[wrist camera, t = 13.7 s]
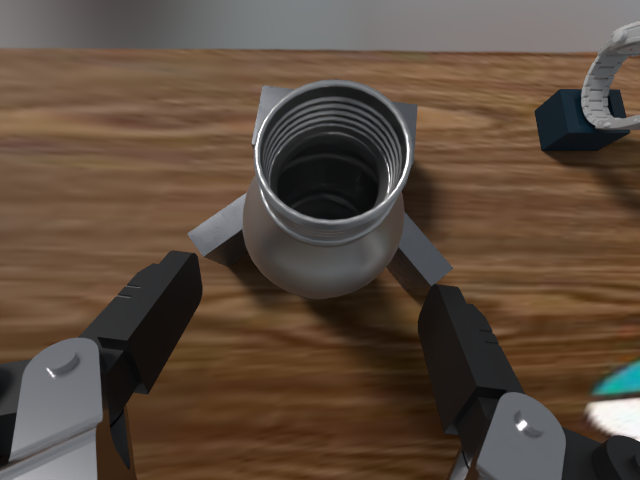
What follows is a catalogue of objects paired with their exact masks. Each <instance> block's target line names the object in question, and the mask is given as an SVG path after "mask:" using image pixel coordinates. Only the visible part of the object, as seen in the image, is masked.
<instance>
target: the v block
mask: <svg viewBox="0 0 640 480" xmlns="http://www.w3.org/2000/svg"><path fill="white" fill-rule="evenodd" d="M293 90H295V89H287V88H279V87H271V86H263V87H262V92H261V98H260V103H259V108H258V113H257V119H256V124H255V129H254V134H253V139H252V146H253V149H254V145H255V140H256V135H257V132H258V130H259V127H260V125H261V123H262V120H263V119H264V118H265V116H266V115H267V113H268V112H269V110H270V109H271V108H272V107H273V106H274V105H275V104H276V103H277V102H278V101H279V100H280V99H281V98H282V97H284V96H285V95H287V94H288V93H290V92H291V91H293ZM392 103H393V104H394V105H395V106H396V107H397V108H398V109H399V110H400V112H401V114H402V115H403V117H404V119H405V120H406V122H407V125H408V127H409V130H410V133H411V136H412V144H413V158H412V166H413V163H414V149H415V134H416V119H417V105H415V104H407V103H399V102H392ZM412 166H411V167H412ZM246 194H247V193H245V194H244V195H243V196H241V197H240V198H238V199H237V200H235V201H234V202H233V203H231V204H230V205H228V206H227V207H225V208H224V209H222V210H221V211H220V212H218V213H217V214H215V215H214V216H212V217H211V218H209V219H208V220H207V221H205V222H204V223H202V224H201V225H199V226H198V227H197V228H195V229H194V230H192V231H191V232H189V233H188V236H189V237H190V239H191V240H192V241H193V243H194V244H195V246H196V247H197V248H198V250H199V251H200V253H201V254H202V256H203V257H205V258H208V259H210V260H212V261H215V262H217V263H220V264H222V265H225V266H227V267H229V266H230V265H232V264H233V263H235V262H236V261H237V260H239V259H240V258H241V257H243V256H244V255H245V254H247V253H248V250H247V248H246V245H245V241H244V236H243V231H242V215H243V208H244V203H245V199H246ZM387 269H388V270H389V271H390V272H391V273H392V275H393V276H394V277H395V278H396V280H397V281H398V282H399V283H400V284H401V286H402V287H403V288H404V289H405V290H408V289H416V288H423V287H431V286H432V285H433V284H435V283H436V282H437V281H439V280H440V279H441V278H442V277H443V276H445V275H446V274H447V273H448V272H449V271H451V270H452V269H453V267H452V266H451V265H450V264H449V263H448V262H447V260H446V259H445V258H444V257H443V256H442V255H441V253H440V252H439V251H438V250H437V249H436V248H435V247H434V245H433V244H432V243H431V242H430V241H429V240H428V238H427V237H426V236H425V235H424V234H423V233H422V231H421V230H420V229H419V228H418V227H417V226H416V224H415V223H414V222H413V221H412V220H411V219H410V217H409V216H408V215H407V214H406V213H405V212H404V225H403V233H402V237H401V240H400V243H399V247H398V249H397V251H396V253H395V254H394V256H393V258H392V260H391V262H390V263H389V264H388V265H387Z"/></svg>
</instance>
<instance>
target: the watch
mask: <svg viewBox="0 0 640 480" xmlns="http://www.w3.org/2000/svg"><path fill="white" fill-rule="evenodd" d="M629 55H630V56H637V55H640V21H638V22H634V23H632V24H628V25H626V26H623V27H621V28H619V29H617V30H615V31H614V32H613V33H612V36H611V39H610V40H609V41H608V42H607V43H606V44H605V45H604V46H603V47H602V48H601V49H600V50H599V51H598V55H597V58H596V59H595V62H593V64H592V65H591V67H590V69H589V71H588V74H592V75H586V78H585V81H584V84H583V86H588V87H583V88H582V89H559V90H558V91H557V92H556V93H555V94H554V95H553V96H551V97H550V98H549V99H548V100H547V101H546V102H544V103H543V104H542V105H541V106H540V107H539V108H538V109H536V110H535V116H536V122H537V127H538V133H539V139H540V145H541V150H544V151H597V150H599V149H601V148H603V147H605V146H607V145H609V144H610V143H612V142H614V141H616V140H618V139H620V138H622V137H624V136H625V135H627V134H629V133H630V130H639V129H640V115H635V116H632V117H628V118H627V117H626V113H625V109H624V105H623V101H622V97H621V93H620V90H609V89H610V87H605V86H610V85H611V83H612V81H613V79H614V75H610V74H616V73H617V71H618V69H619V68H620V67H621V65H622V63H623V62H624V61H625V60H626V59H627V57H628V56H629ZM609 66H612V67H609ZM593 78H599V79H593Z"/></svg>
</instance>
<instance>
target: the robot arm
mask: <svg viewBox="0 0 640 480" xmlns="http://www.w3.org/2000/svg"><path fill="white" fill-rule="evenodd" d="M201 297H202V281H201V274H200V268H199V261H198V257H197V255H196V254H195V253H189V252H181V251H170V252H169V253H168V254H167V255H166V257H165V258H164V259H163V260H162V261H161V262H160V264H151V265H150V266H148V267H146V268H145V269H143V270H141V271H140V272H138V273H137V274H136V275H135V276H134V277H133V278H132V280H131V281H130V282H129V283H128V284H127V287H124V288H123V289H122V290H121V292H120V293H119V294H118V297H115V298H114V299H113V300H112V301H111V302H110V304H109V305H108V306H107V307H106V308H105V309H104V310H103V311H102V312H101V313H100V314H99V316H98V317H97V318H96V319H95V320H94V321H93V322H92V323H91V324H90V325H89V326H88V328H87V329H86V330H85V331H84V332H83V333H82V334H81V335H80V336H79V337H78V338H72V339H67V340H63V341H61V342H58V343H56V344H54V345H51V346H50V347H48V348H46V349H44V350H43V351H42V352H40V353H39V354H38V355H36V356H35V357H34V358H33V359H30V360H24V361H17V362H10V363H4V364H0V480H137V478H136V473H135V466H134V458H133V450H132V442H131V434H130V427H129V419H128V411H127V406H126V403H127V402H128V400H129V399H130V397H131V395H132V394H133V393H141V394H149V392H150V390H151V388H152V387H153V385H154V383H155V381H156V380H157V378H158V376H159V374H160V373H161V371H162V369H163V367H164V365H165V364H166V362H167V360H168V358H169V357H170V355H171V353H172V351H173V350H174V348H175V346H176V344H177V343H178V341H179V339H180V337H181V335H182V334H183V332H184V330H185V328H186V327H187V325H188V323H189V321H190V320H191V318H192V316H193V314H194V312H195V311H196V309H197V307H198V305H199V303H200V301H201ZM418 333H419V337H420V341H421V345H422V349H423V353H424V357H425V361H426V365H427V369H428V372H429V376H430V380H431V384H432V388H433V392H434V396H435V400H436V404H437V407H438V411H439V415H440V419H441V423H442V427H443V431H444V433H446V434H454V435H459V437H460V441H461V444H462V446H461V447H460V449H459V451H458V453H457V455H456V458H455V460H454V463H453V465H452V467H451V470H450V472H449V474H448V477H447V479H446V480H640V442H639V441H637V440H635V439H632V438H630V437H626V436H620V435H617V436H613V437H611V438H609V439H608V440H606V441H605V442H604V443H602V444H601V443H599V442H597V441H594V440H592V439H590V438H587V437H585V436H582V435H580V434H578V433H575V432H573V431H571V430H568V429H566V428H564V427H562V426H561V425H560V424H559V422H558V421H557V419H556V418H555V417H554V415H553V414H552V413H551V412H550V411H549V410H548V409H547V408H546V407H545V406H543V405H542V404H541V403H539V402H538V401H537V400H535V399H533V398H531V397H529V396H527V395H526V394H525V393H524V391H523V389H522V387H521V385H520V383H519V381H518V379H517V377H516V375H515V373H514V372H513V370H512V368H511V366H510V364H509V362H508V360H507V358H506V356H505V354H504V352H503V350H502V348H501V347H500V346H499V345H498V341H497V339H496V337H495V335H494V334H492V329H491V327H490V325H489V323H488V322H487V320H486V318H485V316H484V315H483V314H482V313H481V312H480V311H479V310H478V309H477V308H476V307H475V306H474V305H473V304H466V301H465V299H464V297H463V295H462V293H461V291H460V289H459V288H458V287H455V286H447V285H439V284H433V285H432V286H431V288H430V290H429V293H428V295H427V298H426V300H425V303H424V305H423V307H422V310H421V312H420V315H419V319H418Z"/></svg>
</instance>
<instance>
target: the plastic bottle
mask: <svg viewBox="0 0 640 480" xmlns="http://www.w3.org/2000/svg"><path fill="white" fill-rule="evenodd" d="M412 158H413V144H412V136H411V133H410V130H409V127H408V125H407V122H406V120H405V119H404V117H403V115H402V114H401V112H400V110H399V109H398V108H397V107H396V106H395V105H394V104H393V103H392V102H391V101H390V100H389V99H388V98H387V97H385V96H384V95H383V94H381V93H380V92H379V91H377V90H375V89H373V88H371V87H369V86H367V85H364V84H360V83H357V82H353V81H347V80H338V79H335V80H321V81H317V82H313V83H309V84H306V85H304V86H301V87H299V88H297V89H295V90H293V91H291V92H290V93H288V94H287V95H285V96H284V97H282V98H281V99H280V100H279V101H278V102H277V103H276V104H275V105H274V106H273V107H272V108H271V109H270V110H269V112H268V113H267V115H266V116H265V118H264V119H263V120H262V123H261V125H260V127H259V130H258V132H257V135H256V140H255V145H254V168H255V173H256V175H255V177H254V178H253V180H252V182H251V184H250V187H249V189H248V191H247V194H246V199H245V203H244V208H243V215H242V231H243V236H244V241H245V245H246V248H247V250H248V253H249V255H250V257H251V259H252V261H253V263H254V264H255V265H256V267H257V268H258V269H259V271H260V272H261V273H262V274H263V275H264V276H265V277H266V278H267V279H269V280H270V281H271V282H272V283H273V284H275V285H276V286H278V287H280V288H282V289H283V290H285V291H287V292H289V293H293V294H296V295H299V296H302V297H306V298H309V299H327V298H332V297H339V296H342V295H345V294H349V293H352V292H354V291H356V290H358V289H360V288H362V287H364V286H366V285H367V284H369V283H370V282H371V281H372V280H374V279H375V278H376V277H377V276H379V275H380V274H381V273H382V271H383V270H384V269H385V268H386V267H387V265H388V264H389V263H390V262H391V260H392V258H393V256H394V254H395V253H396V251H397V249H398V247H399V243H400V240H401V237H402V233H403V225H404V202H403V195H402V192H401V191H402V189H403V188H404V186H405V184H406V182H407V179H408V175H409V172H410V169H411V166H412Z"/></svg>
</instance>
